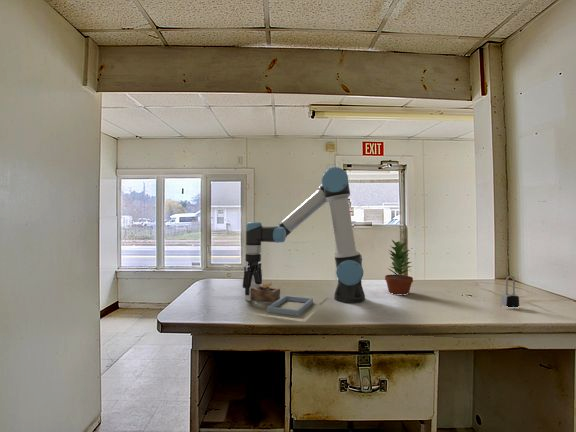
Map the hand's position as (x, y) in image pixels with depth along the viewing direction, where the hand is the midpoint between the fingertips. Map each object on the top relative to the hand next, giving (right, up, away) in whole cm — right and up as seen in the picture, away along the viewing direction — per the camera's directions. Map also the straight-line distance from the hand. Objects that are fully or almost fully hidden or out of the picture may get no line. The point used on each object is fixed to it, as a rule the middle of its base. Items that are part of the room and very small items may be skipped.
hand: (252, 299), depth 154 cm
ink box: (-1, 0, +19) cm, 19 cm away
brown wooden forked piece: (+5, +1, -2) cm, 5 cm away
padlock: (+121, -2, -8) cm, 121 cm away
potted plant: (+79, -1, +18) cm, 81 cm away
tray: (+19, 0, -15) cm, 24 cm away
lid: (+7, 0, -3) cm, 8 cm away
